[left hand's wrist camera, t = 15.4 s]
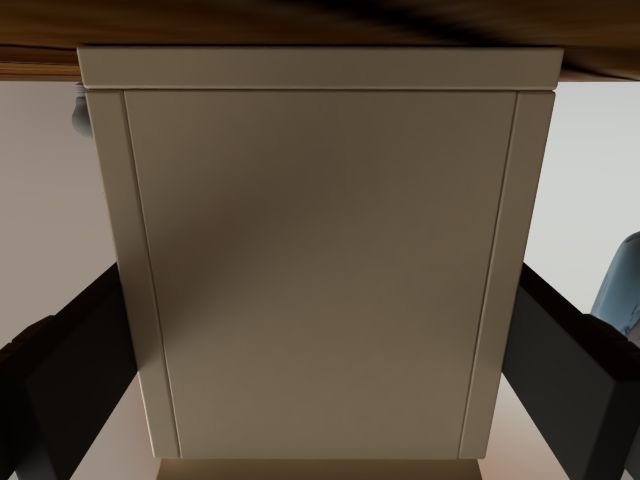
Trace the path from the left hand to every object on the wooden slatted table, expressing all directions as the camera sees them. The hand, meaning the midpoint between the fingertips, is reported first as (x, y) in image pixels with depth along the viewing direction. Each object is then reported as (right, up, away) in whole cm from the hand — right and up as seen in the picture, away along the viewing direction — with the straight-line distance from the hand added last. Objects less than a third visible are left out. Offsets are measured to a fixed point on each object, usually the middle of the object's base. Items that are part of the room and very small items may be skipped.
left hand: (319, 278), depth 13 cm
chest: (0, +8, +3) cm, 9 cm away
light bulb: (-44, +30, +60) cm, 80 cm away
